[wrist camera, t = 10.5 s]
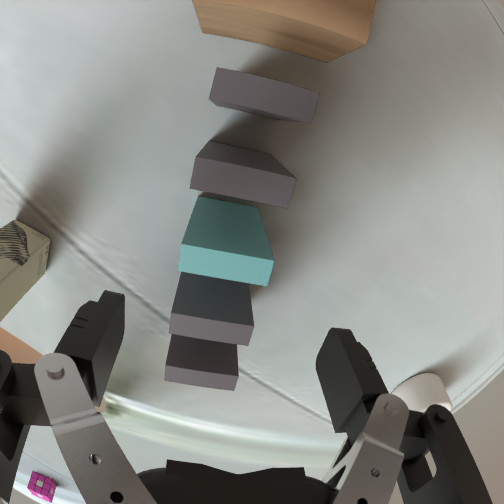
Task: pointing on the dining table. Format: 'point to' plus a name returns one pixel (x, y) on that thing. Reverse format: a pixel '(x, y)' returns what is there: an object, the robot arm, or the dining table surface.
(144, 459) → the dining table surface
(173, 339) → the domino
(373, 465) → the robot arm
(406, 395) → the mug
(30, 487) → the puzzle toy
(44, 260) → the box
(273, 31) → the end block
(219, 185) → the domino
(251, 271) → the domino
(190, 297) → the domino
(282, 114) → the domino
